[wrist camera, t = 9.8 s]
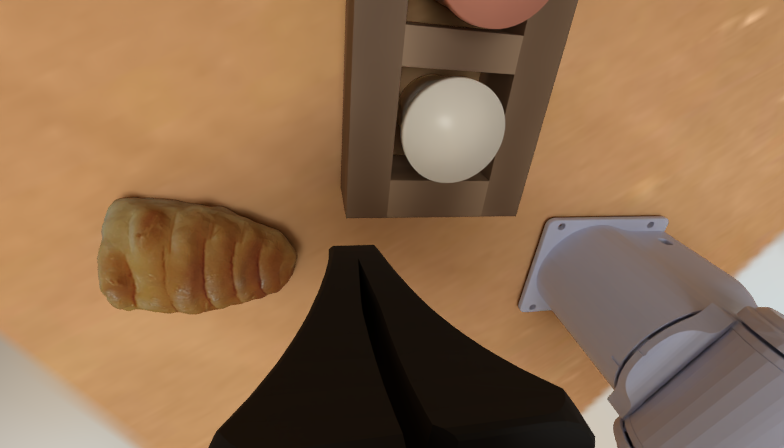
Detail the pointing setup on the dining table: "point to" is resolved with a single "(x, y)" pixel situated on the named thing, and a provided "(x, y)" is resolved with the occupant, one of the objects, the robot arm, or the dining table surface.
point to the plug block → (451, 52)
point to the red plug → (494, 11)
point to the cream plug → (449, 126)
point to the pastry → (188, 257)
